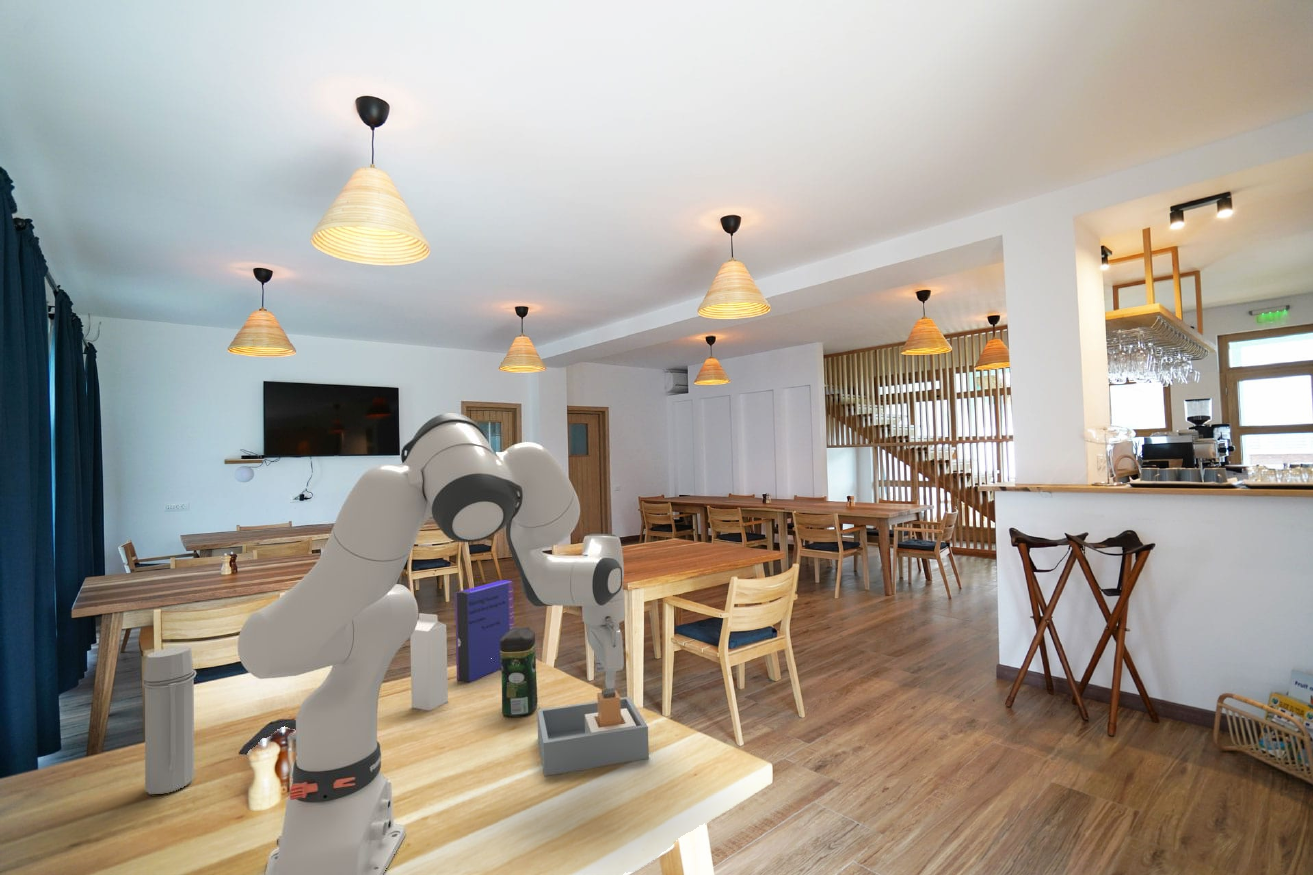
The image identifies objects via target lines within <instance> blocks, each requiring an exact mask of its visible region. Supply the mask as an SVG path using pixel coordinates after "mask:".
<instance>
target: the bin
mask: <svg viewBox="0 0 1313 875" xmlns="http://www.w3.org/2000/svg"><path fill="white" fill-rule="evenodd" d="M620 706H621V709H625V708H627V710H628V712H629V714H630V715H631V717H632V719H633V721H634V722H635V724H636V726H634V727H628V728H621V729H615V730H609V731H602V732H596V733H590V734H585V714H591V713H598V700H597V701H590V702H581V703H575V704H569V705H561V706H554V707H548V708H547V707H546V708H541V709H536V712H537V713H536V714H537V716H536V717H537V718H536V720H537V740H538V745H539V746H538V747H539V751H540V758H541V764H542V769H543V774H544V775H543V776H544V777H547V776H554V775H558V774H565V773H571V772H576V771H582V770H589V769H595V768H600V767H605V766H611V765H618V764H622V763H628V762H633V761H634V762H635V761H640V760H646V759H650V753H649V752H650V751H649V749H650V748H649V726H648V724H647V722H646V721H645V720H644V717H643V716H642V715H641V713H640V711H639V709H638V708H637V707H636V705H635V703H634V701H633V699H632V698H631V696H623V697H620Z"/></svg>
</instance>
